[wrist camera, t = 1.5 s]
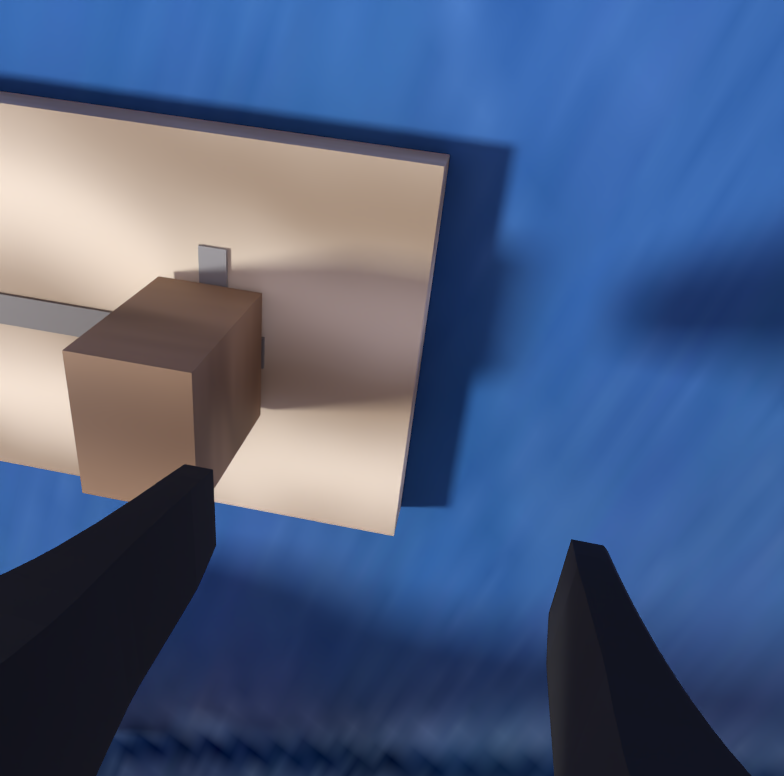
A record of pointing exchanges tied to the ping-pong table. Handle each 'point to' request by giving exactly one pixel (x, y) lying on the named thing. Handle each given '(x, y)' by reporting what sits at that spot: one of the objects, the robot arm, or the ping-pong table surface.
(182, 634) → the ping-pong table surface
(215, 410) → the fader knob
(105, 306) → the fader panel
